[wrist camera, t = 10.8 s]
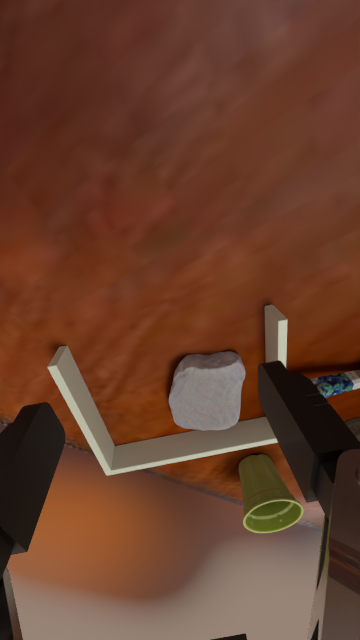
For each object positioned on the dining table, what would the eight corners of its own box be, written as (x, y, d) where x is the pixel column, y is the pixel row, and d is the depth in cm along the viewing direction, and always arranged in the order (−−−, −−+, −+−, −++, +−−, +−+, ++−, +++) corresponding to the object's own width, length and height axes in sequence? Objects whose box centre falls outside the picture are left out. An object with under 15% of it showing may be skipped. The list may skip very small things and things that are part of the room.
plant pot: (218, 468, 46) (230, 524, 39) (256, 439, 43) (277, 493, 36) (252, 484, 50) (269, 538, 42) (289, 458, 47) (315, 511, 39)
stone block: (172, 406, 41) (236, 411, 40) (168, 431, 36) (238, 437, 35) (171, 343, 36) (243, 347, 35) (165, 363, 31) (248, 368, 30)
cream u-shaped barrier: (59, 346, 31) (47, 367, 28) (272, 304, 31) (287, 319, 28) (110, 451, 41) (106, 475, 38) (272, 419, 41) (283, 441, 38)
